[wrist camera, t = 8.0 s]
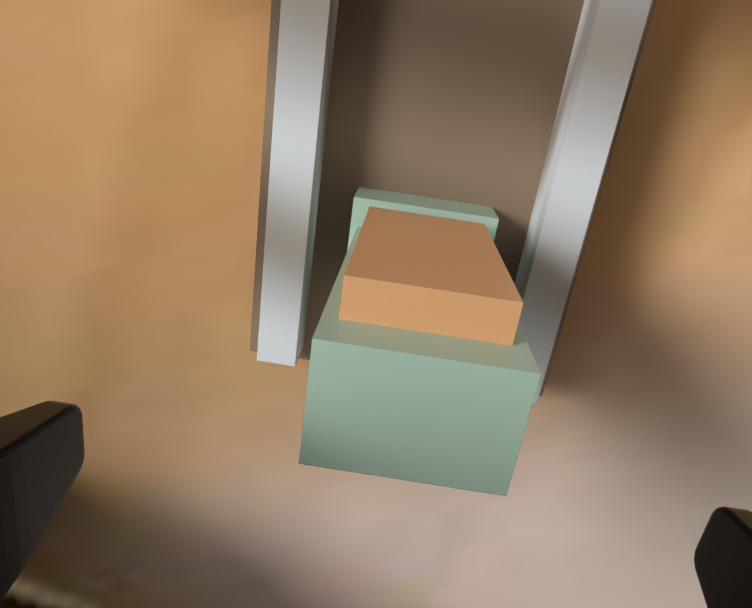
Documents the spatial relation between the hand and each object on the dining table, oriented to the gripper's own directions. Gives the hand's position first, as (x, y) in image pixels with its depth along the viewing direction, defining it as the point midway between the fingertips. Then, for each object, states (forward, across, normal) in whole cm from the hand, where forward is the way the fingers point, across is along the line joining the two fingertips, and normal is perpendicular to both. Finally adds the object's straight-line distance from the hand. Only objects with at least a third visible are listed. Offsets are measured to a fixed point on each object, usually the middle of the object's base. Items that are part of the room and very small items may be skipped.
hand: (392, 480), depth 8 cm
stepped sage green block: (+10, 0, 0) cm, 10 cm away
